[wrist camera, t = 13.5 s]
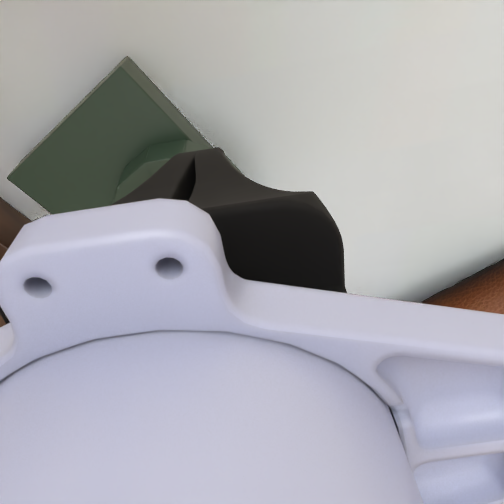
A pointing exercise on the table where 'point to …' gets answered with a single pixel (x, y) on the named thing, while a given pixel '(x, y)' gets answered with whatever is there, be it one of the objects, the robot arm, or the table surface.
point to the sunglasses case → (475, 292)
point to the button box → (107, 145)
